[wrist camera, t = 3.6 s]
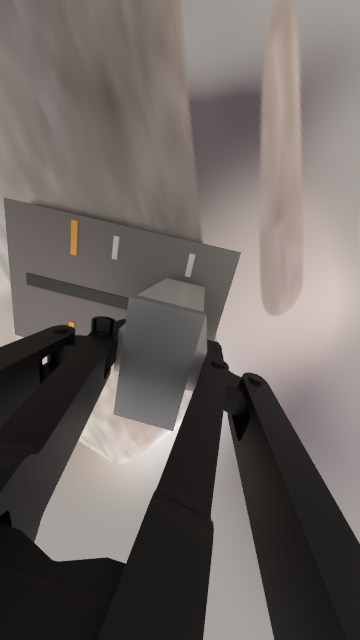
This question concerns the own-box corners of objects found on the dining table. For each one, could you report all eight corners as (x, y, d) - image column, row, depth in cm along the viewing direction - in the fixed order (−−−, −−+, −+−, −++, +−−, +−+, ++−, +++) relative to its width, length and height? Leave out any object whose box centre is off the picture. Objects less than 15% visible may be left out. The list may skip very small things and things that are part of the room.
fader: (153, 346, 20) (113, 414, 11) (166, 276, 17) (129, 296, 9) (187, 354, 20) (172, 431, 11) (205, 286, 17) (205, 315, 9)
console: (36, 325, 25) (13, 335, 22) (31, 205, 20) (1, 197, 17) (200, 369, 24) (199, 385, 21) (235, 253, 19) (241, 252, 16)
